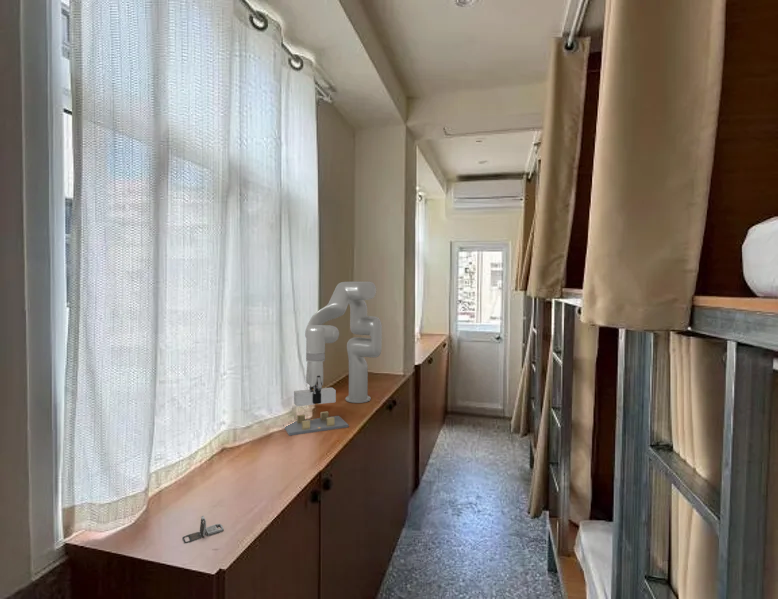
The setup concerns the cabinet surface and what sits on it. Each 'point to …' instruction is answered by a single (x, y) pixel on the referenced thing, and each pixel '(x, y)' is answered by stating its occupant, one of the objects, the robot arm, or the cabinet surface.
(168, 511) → the cabinet surface
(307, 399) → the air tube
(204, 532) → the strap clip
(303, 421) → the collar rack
